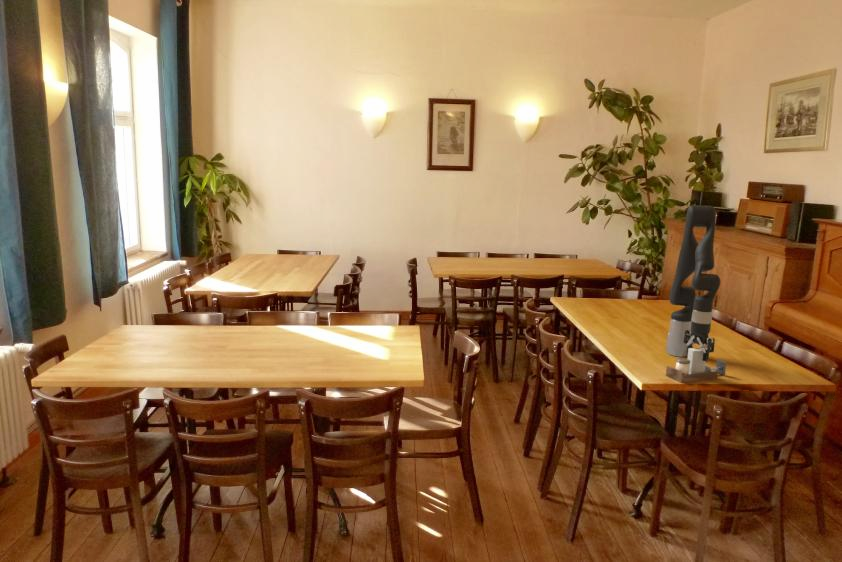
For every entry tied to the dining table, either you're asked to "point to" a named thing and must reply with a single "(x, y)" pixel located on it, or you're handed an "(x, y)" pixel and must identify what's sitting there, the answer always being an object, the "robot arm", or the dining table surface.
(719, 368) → the pusher
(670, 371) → the grey brown tray
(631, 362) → the dining table surface
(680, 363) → the stoneware jar
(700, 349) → the skincare box
